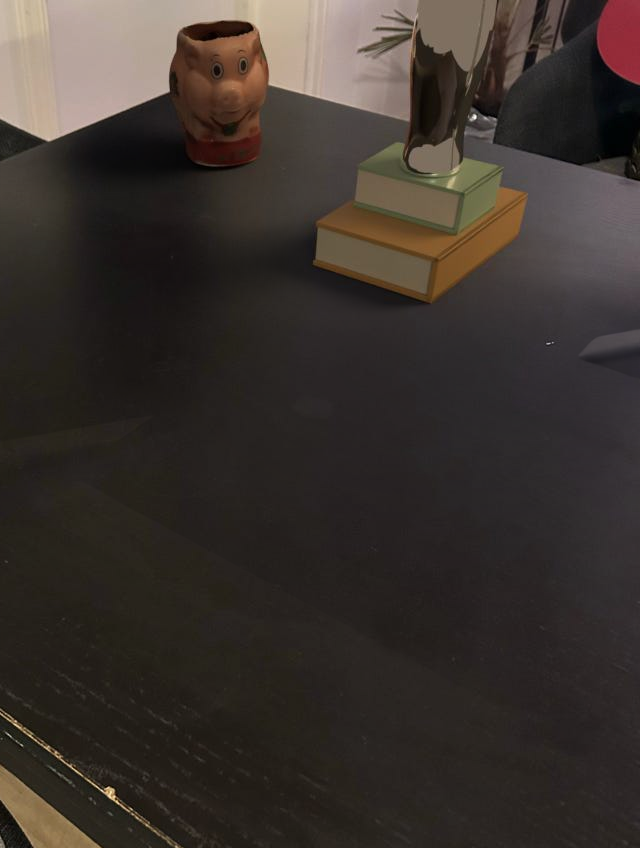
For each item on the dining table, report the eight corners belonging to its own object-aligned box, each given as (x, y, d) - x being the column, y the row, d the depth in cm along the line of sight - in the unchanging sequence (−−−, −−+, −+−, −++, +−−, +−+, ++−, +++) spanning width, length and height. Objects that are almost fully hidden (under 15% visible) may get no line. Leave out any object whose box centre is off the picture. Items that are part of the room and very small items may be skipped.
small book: (494, 208, 92) (503, 166, 89) (457, 235, 88) (465, 192, 85) (391, 181, 97) (397, 141, 94) (352, 205, 94) (357, 165, 91)
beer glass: (380, 162, 91) (402, -18, 80) (436, 147, 93) (465, -31, 82) (424, 185, 87) (454, -2, 76) (482, 169, 89) (519, -16, 77)
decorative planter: (155, 131, 123) (149, 10, 113) (241, 119, 125) (243, -2, 114) (192, 187, 110) (189, 55, 100) (288, 173, 111) (295, 42, 101)
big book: (517, 236, 97) (528, 193, 94) (431, 303, 88) (439, 258, 85) (403, 205, 104) (409, 163, 100) (312, 265, 95) (315, 221, 92)
